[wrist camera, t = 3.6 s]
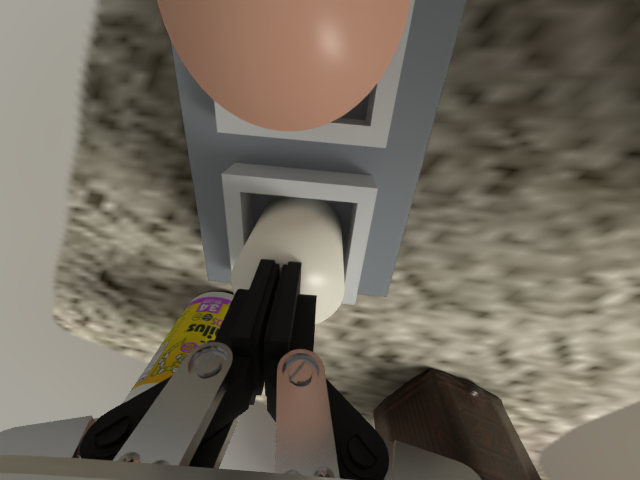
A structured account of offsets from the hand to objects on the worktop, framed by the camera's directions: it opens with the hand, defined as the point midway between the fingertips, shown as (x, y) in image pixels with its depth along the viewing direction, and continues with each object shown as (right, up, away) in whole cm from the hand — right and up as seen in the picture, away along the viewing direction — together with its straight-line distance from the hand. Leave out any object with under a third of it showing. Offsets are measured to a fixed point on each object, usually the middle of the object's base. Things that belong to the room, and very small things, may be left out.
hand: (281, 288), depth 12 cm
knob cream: (0, +3, +4) cm, 5 cm away
